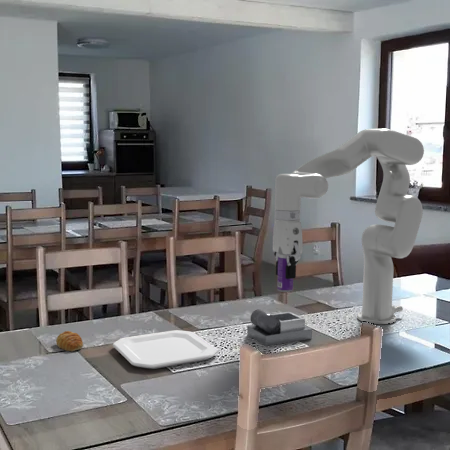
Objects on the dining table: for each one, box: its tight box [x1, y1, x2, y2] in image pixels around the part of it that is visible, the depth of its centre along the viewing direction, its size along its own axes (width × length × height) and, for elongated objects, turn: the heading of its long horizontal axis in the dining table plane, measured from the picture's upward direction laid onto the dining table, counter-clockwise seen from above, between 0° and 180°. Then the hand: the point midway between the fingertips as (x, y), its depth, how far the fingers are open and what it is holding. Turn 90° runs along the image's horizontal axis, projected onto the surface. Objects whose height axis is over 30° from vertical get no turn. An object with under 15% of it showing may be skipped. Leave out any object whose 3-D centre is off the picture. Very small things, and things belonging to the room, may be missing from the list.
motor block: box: [246, 309, 313, 347], centre depth 184 cm, size 16×11×8 cm
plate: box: [112, 329, 219, 370], centre depth 171 cm, size 25×25×2 cm
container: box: [276, 246, 294, 293], centre depth 183 cm, size 5×5×15 cm
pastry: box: [55, 330, 84, 352], centre depth 175 cm, size 9×7×4 cm
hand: (285, 275), depth 183 cm, fingers closed on container, 4 cm apart
